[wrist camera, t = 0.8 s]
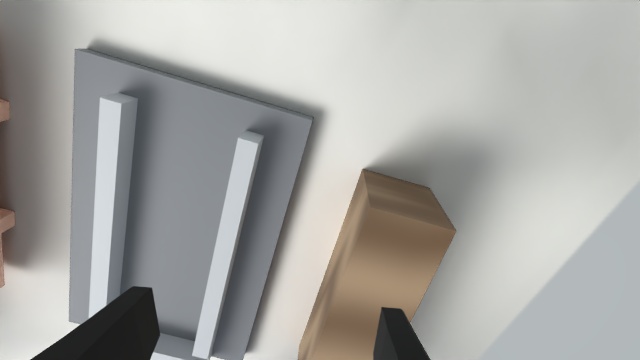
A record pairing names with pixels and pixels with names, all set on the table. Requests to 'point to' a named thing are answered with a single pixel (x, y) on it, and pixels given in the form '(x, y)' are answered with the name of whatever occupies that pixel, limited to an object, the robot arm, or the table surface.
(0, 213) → the block
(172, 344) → the jig
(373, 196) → the tan cardboard box
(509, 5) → the table surface
